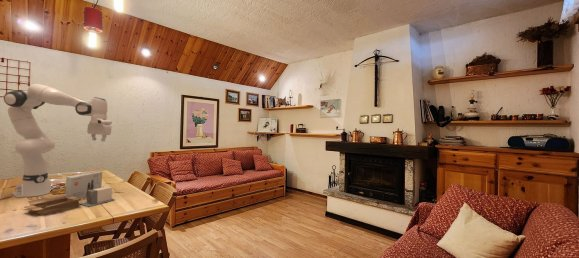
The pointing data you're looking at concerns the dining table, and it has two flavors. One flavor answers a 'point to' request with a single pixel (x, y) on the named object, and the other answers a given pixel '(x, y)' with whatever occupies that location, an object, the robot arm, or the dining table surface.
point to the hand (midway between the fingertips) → (98, 140)
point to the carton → (53, 204)
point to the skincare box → (82, 184)
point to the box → (99, 195)
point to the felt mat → (96, 203)
